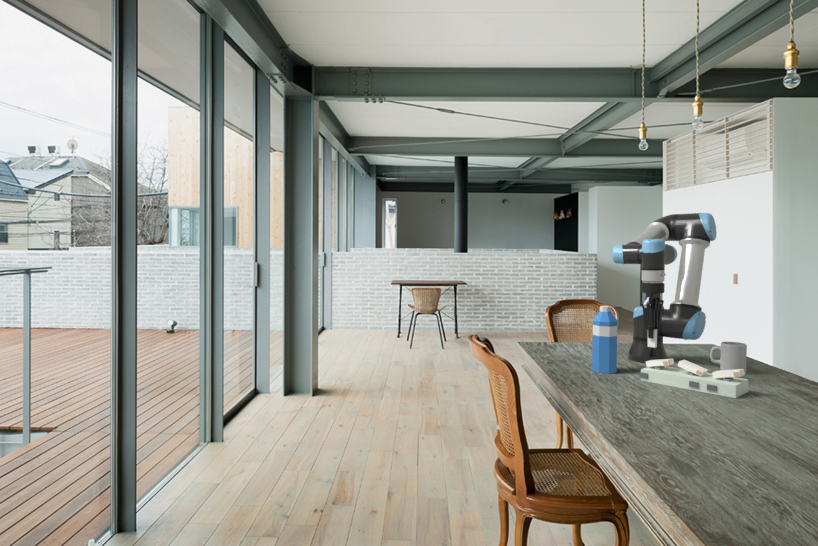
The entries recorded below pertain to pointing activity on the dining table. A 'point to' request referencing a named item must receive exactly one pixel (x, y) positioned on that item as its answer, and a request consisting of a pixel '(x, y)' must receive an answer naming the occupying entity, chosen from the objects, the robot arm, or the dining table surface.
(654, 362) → the block
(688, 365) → the rocker middle
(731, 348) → the mug
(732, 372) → the rocker right
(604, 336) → the water bottle
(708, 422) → the dining table surface
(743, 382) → the switch unit
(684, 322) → the robot arm
